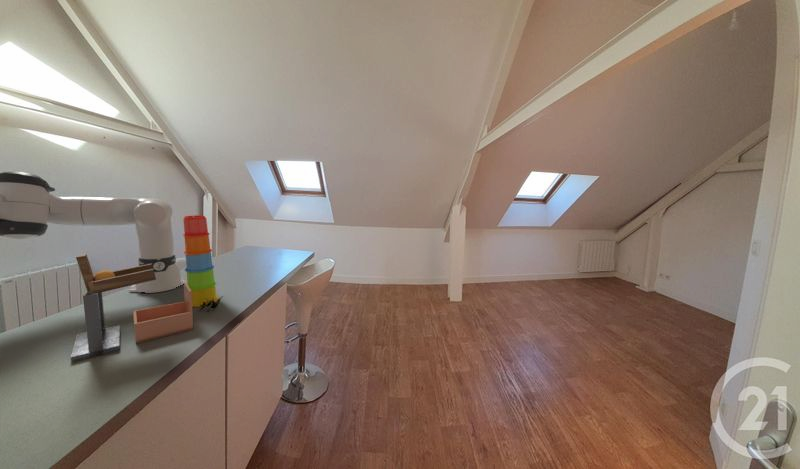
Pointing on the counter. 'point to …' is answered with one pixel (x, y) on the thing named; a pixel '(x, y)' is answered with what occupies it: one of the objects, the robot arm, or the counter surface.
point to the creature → (213, 304)
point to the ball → (103, 275)
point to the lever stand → (95, 331)
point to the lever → (120, 280)
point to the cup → (164, 319)
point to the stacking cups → (199, 260)
